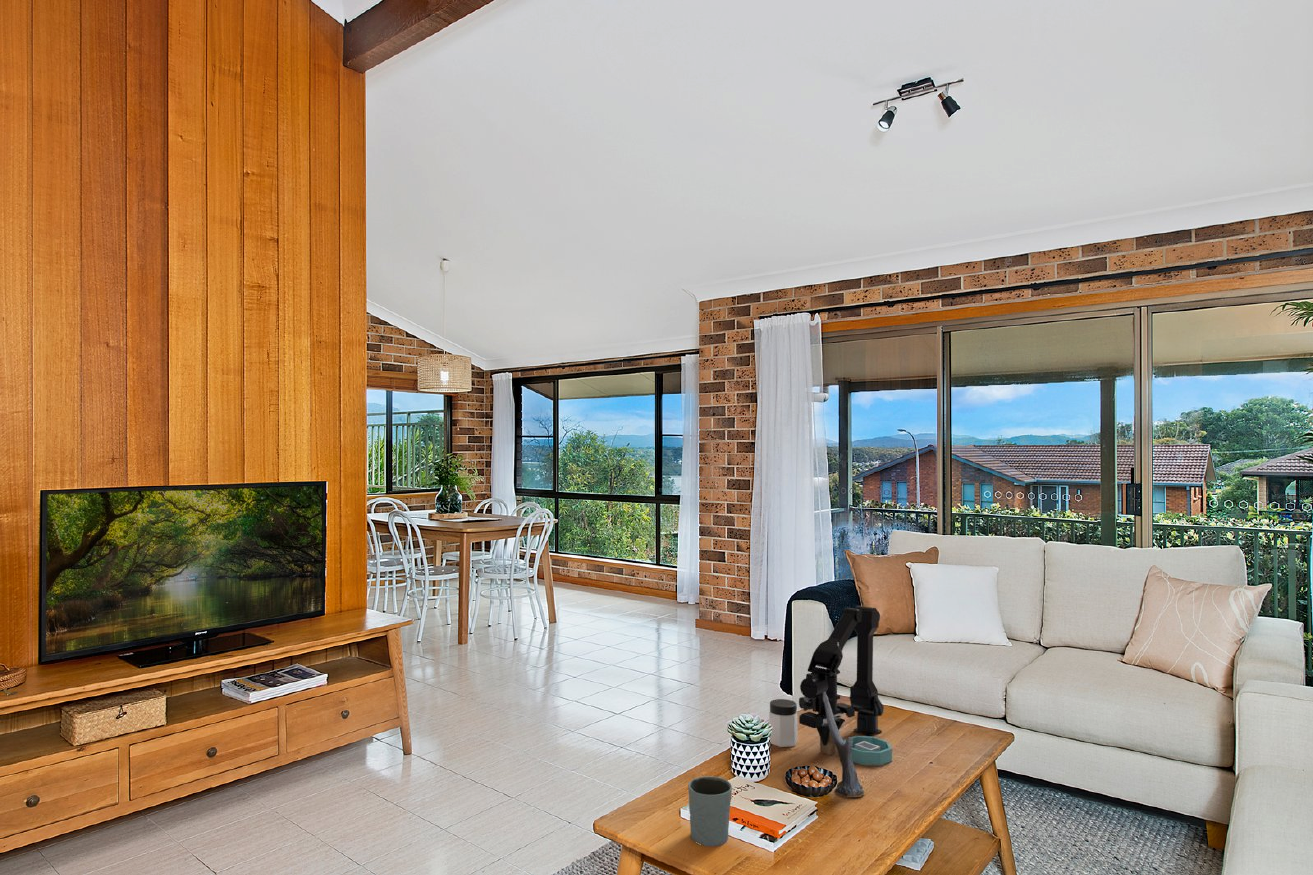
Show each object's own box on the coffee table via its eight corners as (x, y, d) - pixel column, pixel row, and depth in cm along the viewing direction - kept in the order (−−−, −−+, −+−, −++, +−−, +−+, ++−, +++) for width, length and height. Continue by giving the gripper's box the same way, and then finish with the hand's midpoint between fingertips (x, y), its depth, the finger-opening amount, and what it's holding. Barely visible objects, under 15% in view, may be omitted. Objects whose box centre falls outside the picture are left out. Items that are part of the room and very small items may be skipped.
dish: (863, 745, 238) (863, 733, 238) (900, 758, 228) (899, 745, 228) (835, 755, 230) (835, 742, 230) (871, 768, 220) (871, 755, 220)
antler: (869, 793, 204) (868, 696, 205) (854, 802, 198) (853, 703, 199) (829, 780, 212) (829, 687, 213) (814, 789, 206) (813, 693, 207)
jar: (803, 743, 240) (803, 703, 240) (785, 749, 235) (785, 709, 235) (781, 735, 247) (781, 697, 247) (763, 741, 242) (763, 702, 242)
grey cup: (705, 823, 187) (705, 772, 187) (741, 836, 181) (740, 783, 181) (679, 839, 179) (679, 786, 180) (715, 853, 173) (714, 798, 173)
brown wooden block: (825, 750, 234) (825, 723, 234) (835, 753, 231) (834, 726, 231) (820, 752, 233) (820, 724, 233) (829, 755, 230) (829, 728, 230)
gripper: (826, 679, 245) (827, 730, 244) (785, 690, 233) (785, 743, 233) (855, 687, 236) (856, 740, 235) (814, 699, 224) (814, 754, 224)
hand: (827, 744), depth 232 cm, fingers closed on brown wooden block, 2 cm apart
